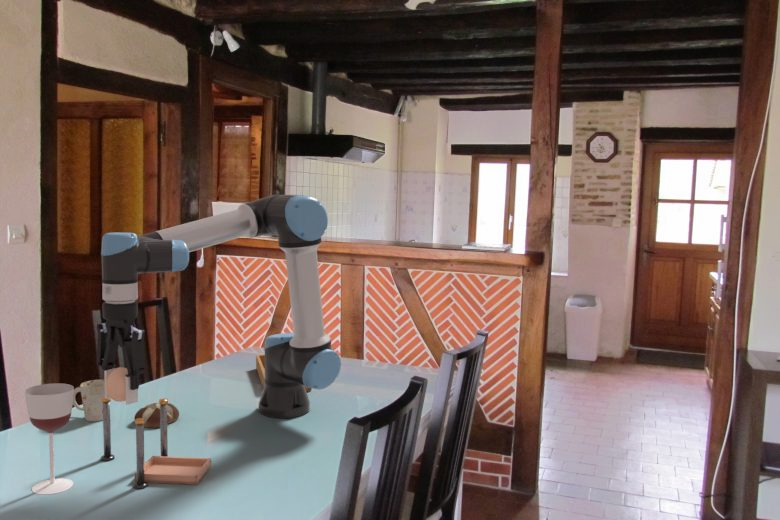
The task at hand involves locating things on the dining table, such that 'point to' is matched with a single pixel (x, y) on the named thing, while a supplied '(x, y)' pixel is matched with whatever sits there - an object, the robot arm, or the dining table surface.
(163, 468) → the tray
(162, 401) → the pole corner
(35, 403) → the wineglass
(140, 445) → the pole
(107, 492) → the dining table surface
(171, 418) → the bread
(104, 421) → the pole
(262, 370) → the tray
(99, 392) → the mug
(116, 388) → the egg
